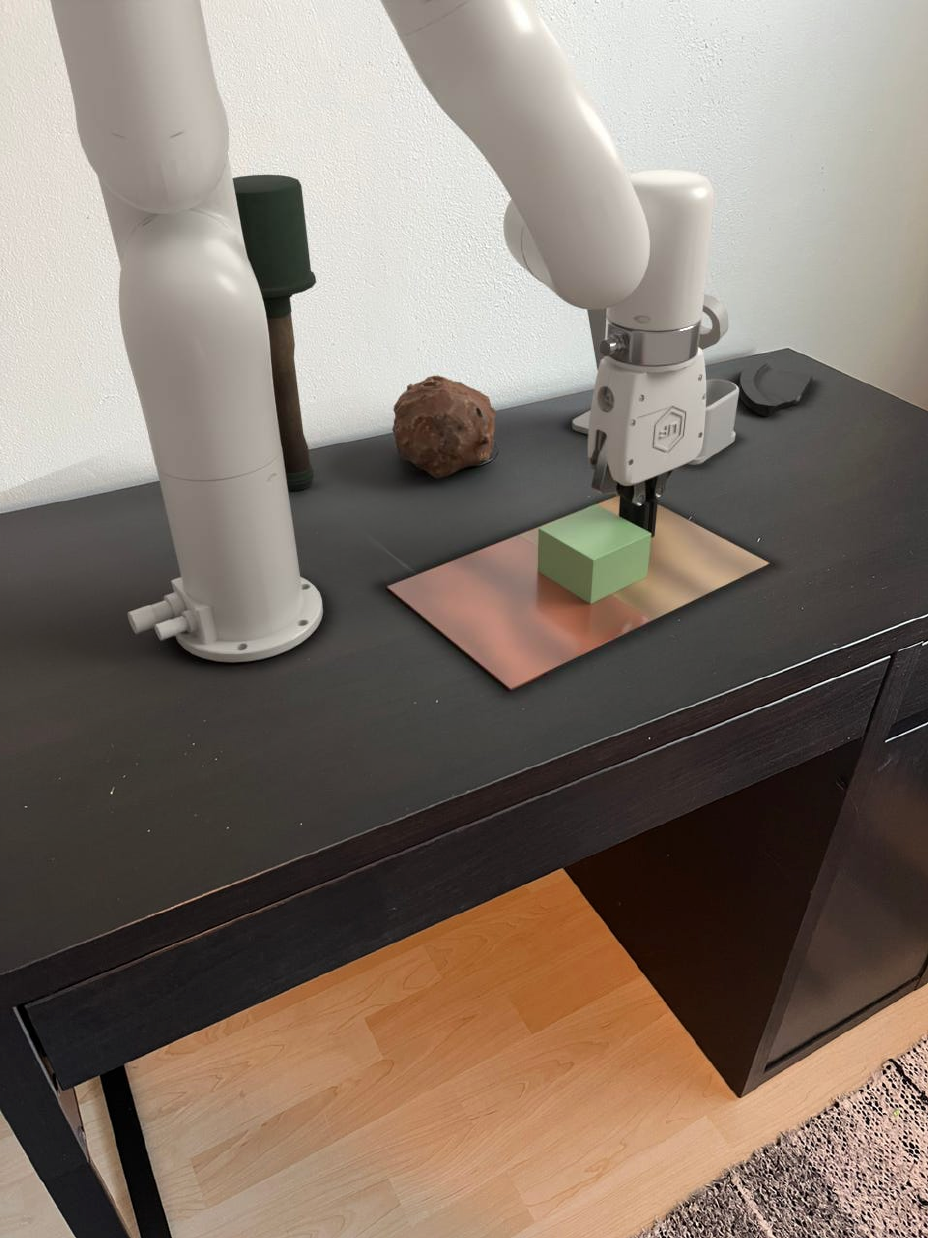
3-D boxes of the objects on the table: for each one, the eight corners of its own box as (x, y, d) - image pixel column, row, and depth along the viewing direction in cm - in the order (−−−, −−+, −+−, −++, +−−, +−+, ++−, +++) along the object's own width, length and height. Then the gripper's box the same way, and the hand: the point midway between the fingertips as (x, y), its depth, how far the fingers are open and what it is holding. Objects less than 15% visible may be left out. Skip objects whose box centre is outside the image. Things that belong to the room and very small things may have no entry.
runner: (510, 690, 74) (510, 688, 74) (386, 588, 86) (386, 586, 86) (769, 564, 88) (769, 562, 88) (631, 491, 100) (631, 490, 100)
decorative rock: (508, 487, 101) (508, 397, 95) (402, 499, 100) (397, 408, 94) (481, 436, 112) (480, 352, 106) (385, 446, 110) (379, 361, 104)
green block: (590, 604, 83) (593, 560, 80) (537, 570, 87) (538, 527, 85) (647, 576, 86) (651, 533, 84) (593, 545, 91) (595, 503, 88)
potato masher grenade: (344, 467, 106) (314, 172, 89) (327, 505, 99) (291, 192, 82) (269, 465, 107) (225, 172, 89) (247, 502, 100) (194, 192, 82)
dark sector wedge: (717, 408, 117) (719, 395, 116) (750, 371, 127) (752, 359, 126) (786, 421, 114) (789, 408, 113) (814, 382, 123) (816, 370, 122)
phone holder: (742, 438, 110) (767, 278, 99) (697, 469, 104) (719, 302, 93) (614, 401, 119) (625, 251, 109) (566, 428, 113) (573, 272, 103)
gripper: (615, 374, 72) (603, 579, 83) (750, 330, 79) (722, 524, 89) (551, 347, 77) (547, 544, 88) (682, 308, 84) (664, 495, 94)
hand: (635, 533), depth 88 cm, fingers closed
